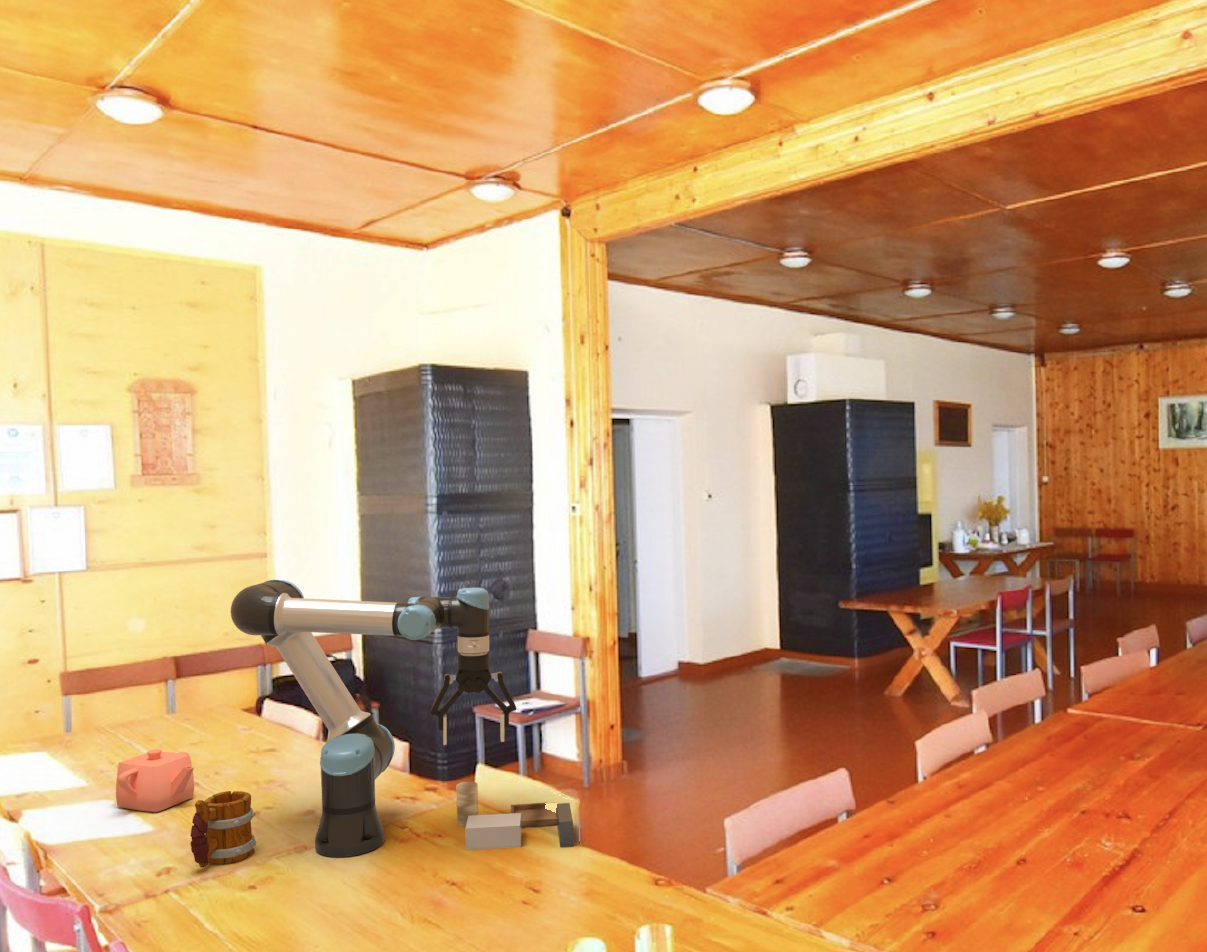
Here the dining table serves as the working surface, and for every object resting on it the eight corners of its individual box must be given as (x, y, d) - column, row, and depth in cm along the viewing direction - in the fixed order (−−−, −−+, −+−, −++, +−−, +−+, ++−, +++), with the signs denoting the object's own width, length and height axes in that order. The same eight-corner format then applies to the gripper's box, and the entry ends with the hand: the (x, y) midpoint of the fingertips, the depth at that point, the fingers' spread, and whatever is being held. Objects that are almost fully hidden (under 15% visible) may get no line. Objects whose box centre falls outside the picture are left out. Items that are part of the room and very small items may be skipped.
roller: (456, 827, 221) (455, 788, 221) (458, 819, 226) (456, 782, 226) (478, 825, 221) (477, 787, 221) (479, 818, 226) (477, 780, 226)
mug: (266, 848, 211) (264, 781, 212) (214, 878, 196) (212, 806, 196) (227, 843, 215) (225, 778, 215) (173, 872, 199) (171, 802, 200)
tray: (510, 828, 219) (510, 821, 219) (511, 811, 230) (510, 804, 230) (560, 825, 220) (560, 818, 220) (558, 808, 231) (558, 801, 231)
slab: (466, 851, 207) (465, 828, 207) (469, 837, 215) (468, 815, 215) (520, 848, 208) (519, 825, 208) (521, 834, 215) (521, 812, 216)
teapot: (98, 815, 237) (96, 760, 237) (168, 787, 258) (166, 737, 258) (156, 823, 230) (155, 766, 230) (224, 794, 250) (222, 742, 250)
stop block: (560, 847, 207) (559, 822, 207) (557, 827, 219) (556, 803, 219) (573, 846, 207) (572, 821, 207) (570, 826, 219) (569, 802, 219)
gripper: (420, 658, 219) (420, 749, 218) (527, 653, 223) (527, 743, 223) (420, 652, 226) (420, 740, 226) (523, 648, 230) (524, 734, 230)
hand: (473, 742), depth 224 cm, fingers open, 13 cm apart
